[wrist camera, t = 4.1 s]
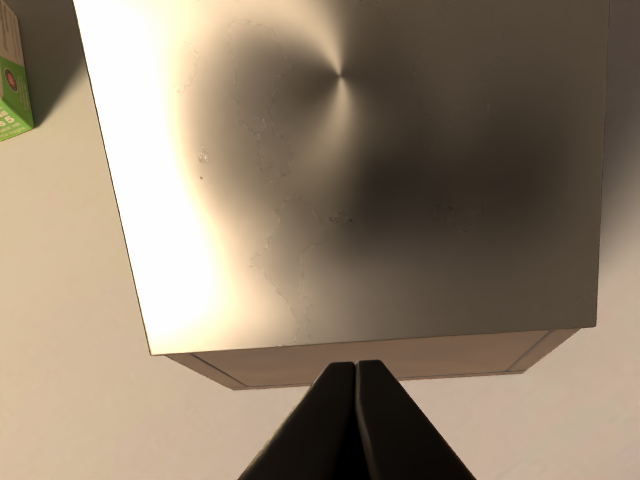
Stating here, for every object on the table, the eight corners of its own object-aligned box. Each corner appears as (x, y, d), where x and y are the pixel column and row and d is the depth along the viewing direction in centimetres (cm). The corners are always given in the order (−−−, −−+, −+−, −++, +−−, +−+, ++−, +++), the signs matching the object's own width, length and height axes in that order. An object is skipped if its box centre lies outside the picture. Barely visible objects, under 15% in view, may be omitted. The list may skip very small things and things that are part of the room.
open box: (237, 130, 28) (183, 12, 21) (475, 105, 27) (506, -29, 20) (232, 390, 23) (159, 354, 16) (523, 374, 22) (587, 325, 15)
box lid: (36, -224, 12) (16, -241, 11) (609, -324, 11) (626, -348, 10) (158, 345, 16) (149, 357, 15) (586, 316, 15) (597, 328, 14)
